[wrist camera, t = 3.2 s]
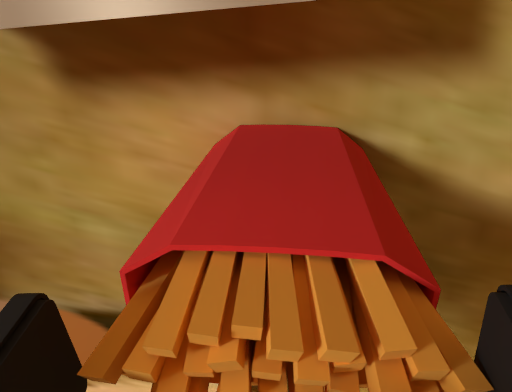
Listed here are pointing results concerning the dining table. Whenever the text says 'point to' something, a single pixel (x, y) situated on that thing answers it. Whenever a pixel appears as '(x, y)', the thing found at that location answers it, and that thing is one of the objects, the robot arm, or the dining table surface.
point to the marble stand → (106, 9)
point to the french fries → (282, 280)
